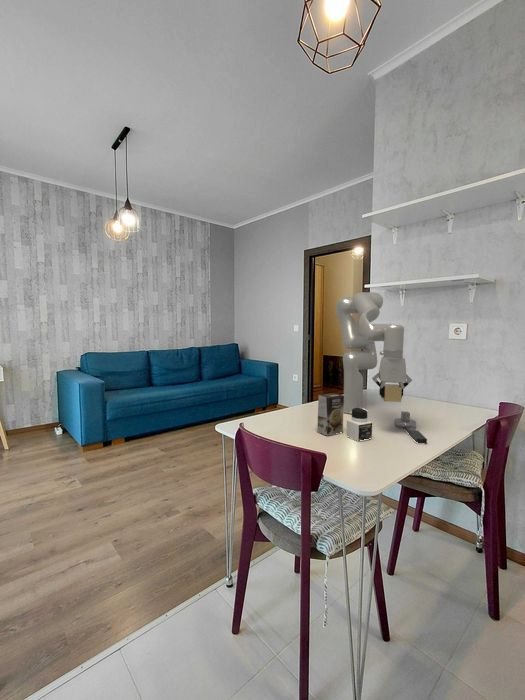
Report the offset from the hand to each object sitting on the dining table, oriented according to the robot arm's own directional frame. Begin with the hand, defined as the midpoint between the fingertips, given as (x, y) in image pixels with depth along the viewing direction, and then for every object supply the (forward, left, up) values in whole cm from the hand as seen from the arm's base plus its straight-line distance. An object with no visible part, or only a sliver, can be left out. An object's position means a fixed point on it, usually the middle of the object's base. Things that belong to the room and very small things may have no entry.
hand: (391, 397), depth 139 cm
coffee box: (-25, -3, -16) cm, 29 cm away
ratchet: (+9, +2, -15) cm, 18 cm away
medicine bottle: (-14, -8, -16) cm, 22 cm away
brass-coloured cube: (0, 0, -1) cm, 1 cm away
